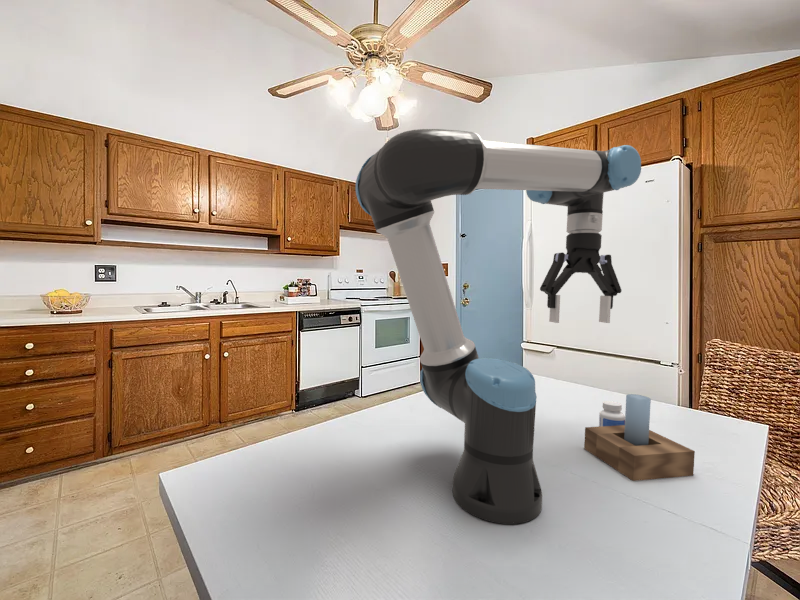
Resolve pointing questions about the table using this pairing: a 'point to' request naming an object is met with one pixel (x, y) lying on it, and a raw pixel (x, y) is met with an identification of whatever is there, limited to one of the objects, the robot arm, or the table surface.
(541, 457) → the table surface
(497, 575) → the table surface
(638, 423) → the peg
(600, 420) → the pill bottle
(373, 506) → the table surface
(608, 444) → the socket block
